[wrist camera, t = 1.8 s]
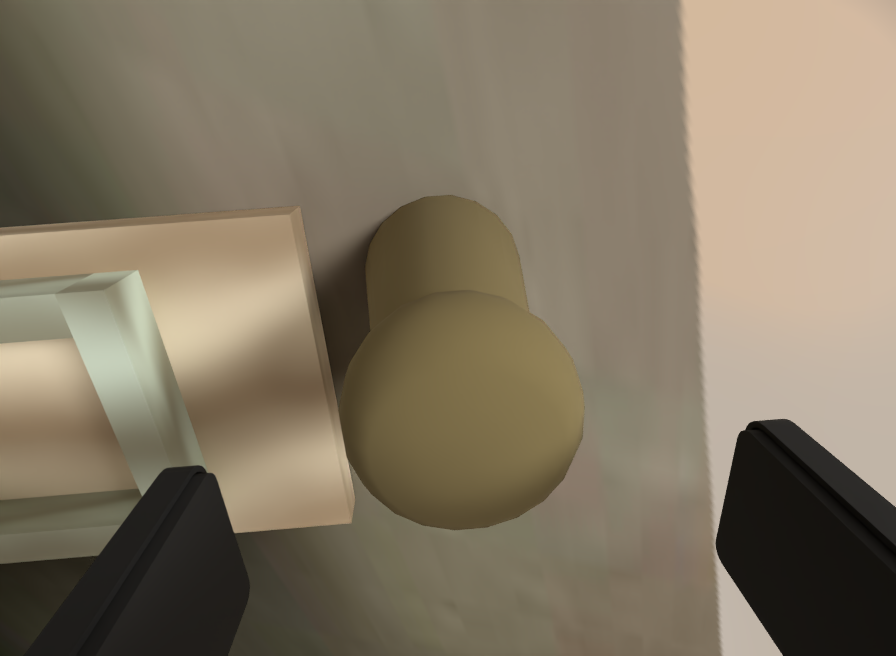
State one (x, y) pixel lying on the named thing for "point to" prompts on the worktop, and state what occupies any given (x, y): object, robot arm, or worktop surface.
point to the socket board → (162, 376)
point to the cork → (456, 374)
